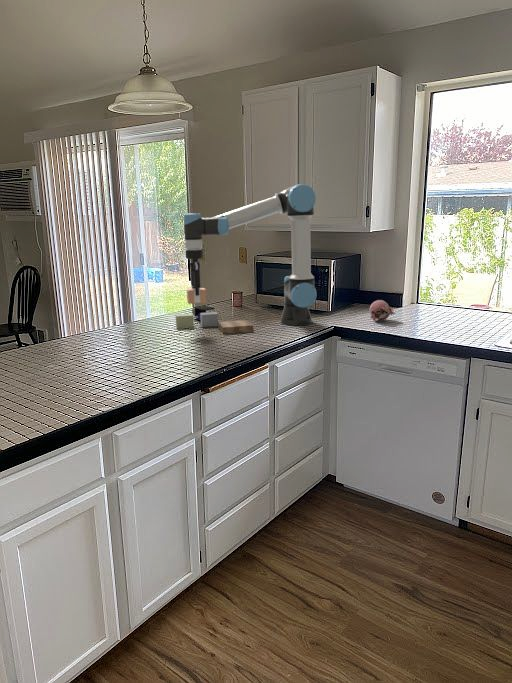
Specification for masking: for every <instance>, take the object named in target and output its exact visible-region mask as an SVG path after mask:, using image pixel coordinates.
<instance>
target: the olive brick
mask: <svg viewBox="0 0 512 683" xmlns="http://www.w3.org/2000/svg"><path fill="white" fill-rule="evenodd" d="M174 315H175V327H176V329H179V330H180V329H192V328H194V327H195V324H194V323H195V322H194V315H193V313H180V314H174Z"/></svg>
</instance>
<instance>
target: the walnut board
mask: <svg viewBox="0 0 512 683" xmlns="http://www.w3.org/2000/svg"><path fill="white" fill-rule="evenodd" d="M217 327H218V329H219V331H220V332H221V334H223V335H227V334H240V333H242V334H243V333H252V332H254V325H253V324H252V323H251V322H250V321H249V320H248V319H245V320H229V321H227V320H226V321H218V326H217Z"/></svg>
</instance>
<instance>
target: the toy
mask: <svg viewBox="0 0 512 683" xmlns="http://www.w3.org/2000/svg"><path fill="white" fill-rule="evenodd" d="M368 310H369V314H370V316H369V317H370V318H371V319H372V320H373V321H374V322H375V323H377V322H376V320H378V321H380V322H381V321H384V320H385V321H386V320H387V319H388V318H389V316H390V315H391V316H393V315H396V313H395V312H394V311H395V310H394V309H393V308H392V307H391V306H390V305H389V303H387V302H386V301H384V300H383V299H377V300H375V301H373V302H372V303H371V304H370V306H369V309H368Z"/></svg>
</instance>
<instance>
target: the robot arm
mask: <svg viewBox="0 0 512 683" xmlns="http://www.w3.org/2000/svg"><path fill="white" fill-rule="evenodd" d="M316 200H317V196H316V193H315V190H314V189H313V188H312V187H311V186H310V185H308V184H304V183H297V184H294V185H290V186H289V187H287V188H285V189H284V190H281V191H279V192H276V193H275V194H274V196H271V197H269V198H266V199H263V200H260V201H257V202H254V203H251V204H248V205H245V206H241V207H239V208H236V209H233V210H230V211H228V212H227V211H226V212H224V213H222V214H219V215H215V216H211V217H202V215H201V213H200V212H197V213H185V214H184V215H183V230H184V232H183V233H184V242H183V245H185V249H186V250H185V258H186V260H190V262H189V266H190V268H189V269H190V283H191V289H194V304H201V303H200V302H201V301H200V288H201V272H200V271H201V270H200V266H201V264H200V262H199V259H203V258H204V254H203V236H225V235H228V234H229V233H230V230H231V229H233V228H236V227H240V226H243V225H246V224H248V223H252V222H255V221H258V220H260V219H264V218H268V217H270V216H273V215H276V214H281V215H283V214H286V213H287V217H288V218H289V220H290V231H291V233H290V235H291V236H290V238H291V240H290V241H291V242H290V243H291V274H290V275H287V276H285V277H284V280H283V287H284V288H283V294H284V295H283V296H284V298H283V300H284V302H283V304H284V305H283V310H282V312H281V316H280V323H281V324H283V325H287V326H305V325H310V324H311V323H312V320H313V319H312V318H313V317H312V315H311V311H310V308H309V307H311V306H312V305H313V304H314V303H315V301H316V299H317V294H318V293H317V292H318V291H317V289H316V287H315V276H314V275H313V274H312V272H311V271H312V267H311V266H312V262H311V261H312V260H311V259H312V258H311V257H312V256H311V255H312V252H311V240H312V239H311V219H312V218H313V217H314V216H315V215H314V213H315V211H314V210H315V209H314V207H315V205H316Z"/></svg>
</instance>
